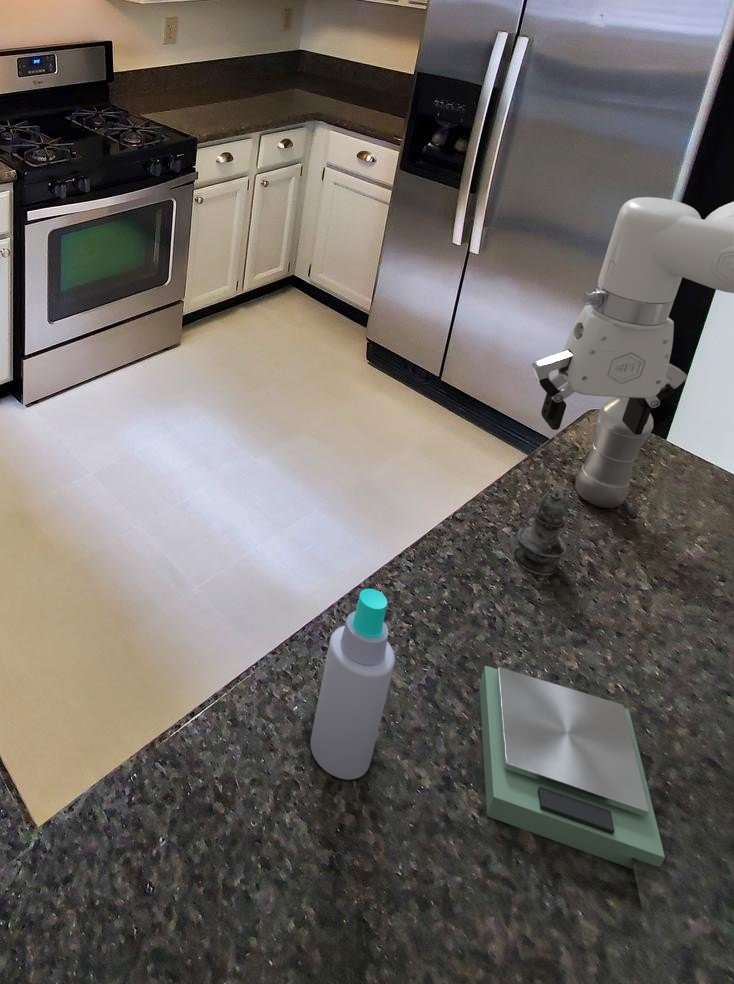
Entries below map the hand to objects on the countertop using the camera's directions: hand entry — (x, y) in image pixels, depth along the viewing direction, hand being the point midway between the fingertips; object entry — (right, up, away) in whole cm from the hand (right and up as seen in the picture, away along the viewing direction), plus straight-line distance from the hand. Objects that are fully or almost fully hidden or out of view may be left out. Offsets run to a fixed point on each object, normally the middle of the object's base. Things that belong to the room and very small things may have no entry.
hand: (590, 425), depth 99 cm
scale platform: (-14, -29, -18) cm, 37 cm away
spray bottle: (-37, -32, -16) cm, 51 cm away
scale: (-15, -32, -17) cm, 39 cm away
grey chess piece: (-1, -21, +9) cm, 23 cm away
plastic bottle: (+15, -15, +21) cm, 30 cm away
